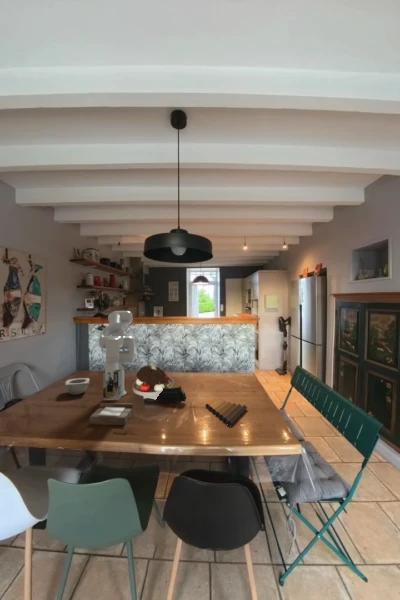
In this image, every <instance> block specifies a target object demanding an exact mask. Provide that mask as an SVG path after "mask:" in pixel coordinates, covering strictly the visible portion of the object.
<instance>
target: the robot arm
mask: <svg viewBox="0 0 400 600" xmlns="http://www.w3.org/2000/svg"><path fill="white" fill-rule="evenodd" d="M107 320H108V325H107V326H105V327H104V328H103V329H102V330H101V331H100V334H99V339H98V346H99V348H101V349H103V350H104V349H105V363H106V364H105V371H104V372H105V380H106V382H107V392H113V385H112V383H113V380H114V373H115V372H116V371H117V370H121V397H123V396H125V395H127V391H126V390H125V368H124V367H123V365H130V364H133V363H134V361H135V340H134V337H132V336H129V335H128V336H127V335H125V330H124V328H123V325H131V324H132V323H133V321H134V320H133V313H132V312H131V311H129V310H114V311H112V312H111V313H109V315H108V316H107ZM110 378H112V379H110ZM110 381H111V382H110Z"/></svg>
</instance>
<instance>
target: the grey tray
mask: <svg viewBox="0 0 400 600" xmlns="http://www.w3.org/2000/svg"><path fill="white" fill-rule="evenodd" d="M133 414H134V403H132V402H131V403H128V402H127V403H125V402H124V403H122V402H121V403H120V402H119V403H118V402H115V403H114V402H100V403H99V407H98V408H97V409H96V410H95V411H94V412H93V413H92V414H91V415H90V416H89V425H113V426H116V425H117V426H119V425H121V426H125V425H126V424H127V422H129V420H130V418H131V417H132V415H133Z"/></svg>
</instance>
